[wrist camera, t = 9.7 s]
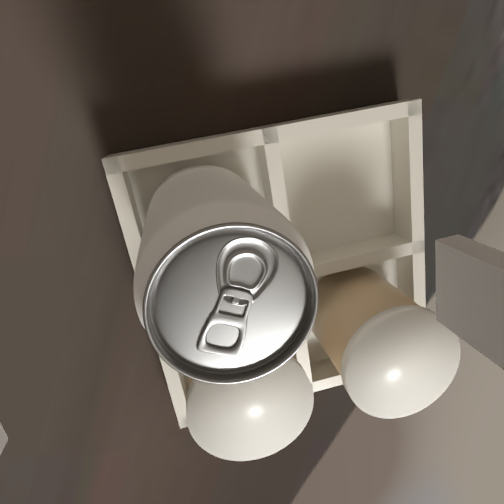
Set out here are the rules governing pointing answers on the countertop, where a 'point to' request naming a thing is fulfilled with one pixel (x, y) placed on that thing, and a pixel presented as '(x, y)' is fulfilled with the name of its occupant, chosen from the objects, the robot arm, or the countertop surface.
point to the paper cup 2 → (383, 344)
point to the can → (222, 278)
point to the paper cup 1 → (250, 413)
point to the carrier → (307, 198)
